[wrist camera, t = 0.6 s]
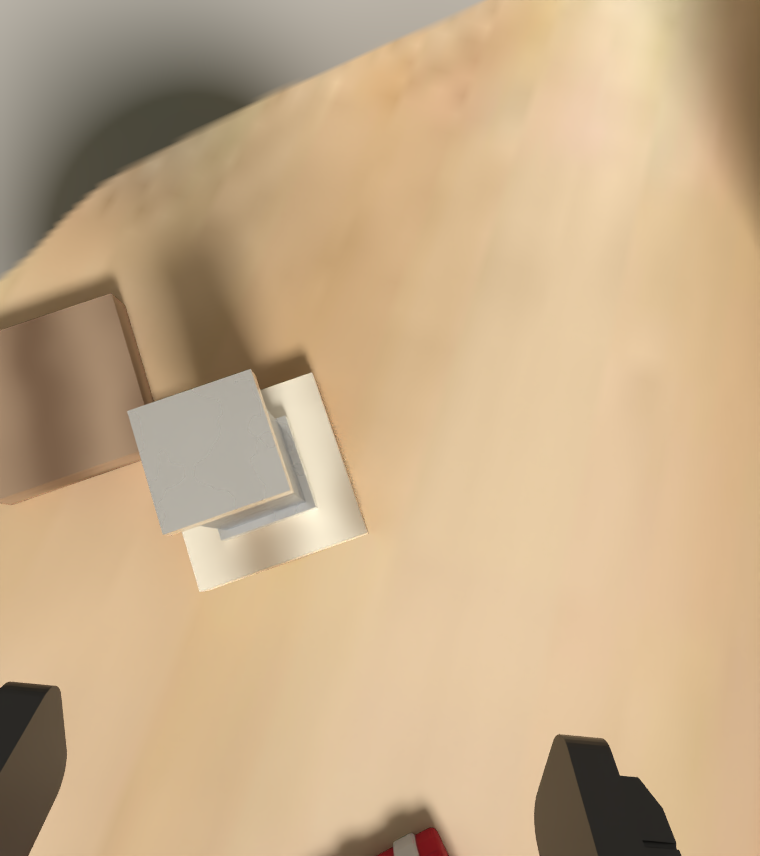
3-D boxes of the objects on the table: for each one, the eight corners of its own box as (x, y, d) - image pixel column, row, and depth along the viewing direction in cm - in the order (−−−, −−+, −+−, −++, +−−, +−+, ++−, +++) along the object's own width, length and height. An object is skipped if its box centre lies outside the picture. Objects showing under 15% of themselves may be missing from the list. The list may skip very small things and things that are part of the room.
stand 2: (316, 381, 39) (312, 372, 37) (368, 533, 38) (367, 532, 36) (163, 434, 39) (151, 427, 37) (209, 590, 37) (199, 592, 35)
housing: (288, 419, 37) (250, 368, 27) (317, 508, 36) (290, 490, 26) (197, 450, 37) (127, 411, 27) (225, 541, 36) (163, 534, 26)
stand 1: (125, 305, 40) (111, 292, 38) (168, 450, 39) (156, 445, 37) (-26, 356, 40) (-48, 345, 38) (11, 504, 38) (-9, 502, 36)
